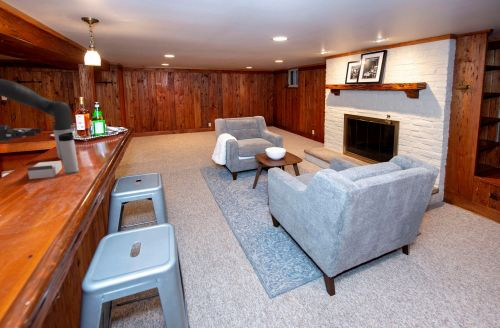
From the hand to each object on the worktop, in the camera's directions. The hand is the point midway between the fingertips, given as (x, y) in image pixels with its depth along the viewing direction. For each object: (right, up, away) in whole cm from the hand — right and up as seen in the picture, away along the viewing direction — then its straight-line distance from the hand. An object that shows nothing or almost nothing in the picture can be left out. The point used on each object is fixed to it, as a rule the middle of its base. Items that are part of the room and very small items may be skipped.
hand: (38, 132), depth 141 cm
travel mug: (+11, -20, +9) cm, 24 cm away
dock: (-2, -20, +8) cm, 21 cm away
